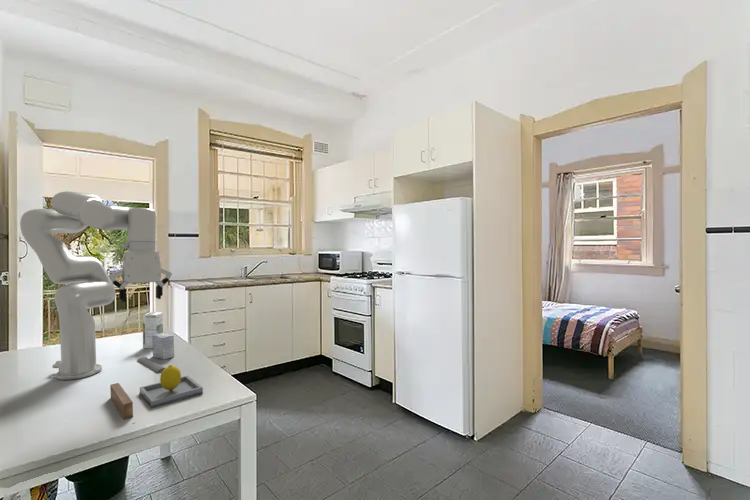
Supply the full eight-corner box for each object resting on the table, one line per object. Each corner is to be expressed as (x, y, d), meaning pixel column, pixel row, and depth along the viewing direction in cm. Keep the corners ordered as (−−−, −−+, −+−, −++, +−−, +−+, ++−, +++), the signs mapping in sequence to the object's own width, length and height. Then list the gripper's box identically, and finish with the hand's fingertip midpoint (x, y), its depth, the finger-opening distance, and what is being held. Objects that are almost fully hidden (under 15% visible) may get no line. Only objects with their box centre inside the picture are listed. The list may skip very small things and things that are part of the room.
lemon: (172, 395, 110) (171, 368, 109) (156, 394, 111) (155, 367, 110) (185, 388, 115) (184, 362, 115) (170, 386, 116) (169, 361, 116)
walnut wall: (124, 419, 97) (123, 404, 97) (110, 398, 110) (110, 384, 109) (133, 416, 98) (132, 401, 98) (118, 396, 111) (118, 382, 111)
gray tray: (151, 407, 103) (151, 401, 103) (139, 393, 113) (139, 387, 113) (202, 393, 113) (202, 387, 113) (187, 380, 122) (187, 375, 122)
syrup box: (149, 344, 164) (148, 311, 163) (163, 344, 164) (163, 311, 164) (142, 348, 158) (141, 314, 157) (157, 348, 158) (156, 314, 158)
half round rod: (156, 375, 129) (155, 370, 129) (135, 363, 142) (135, 358, 142) (169, 371, 132) (168, 366, 132) (148, 360, 145) (148, 355, 145)
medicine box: (174, 356, 147) (174, 335, 147) (163, 360, 143) (162, 337, 143) (163, 353, 151) (163, 332, 151) (152, 356, 147) (151, 335, 147)
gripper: (111, 247, 110) (111, 304, 111) (175, 247, 122) (174, 299, 123) (106, 246, 115) (106, 300, 116) (168, 246, 127) (167, 295, 128)
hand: (141, 299), depth 120 cm, fingers open, 9 cm apart
